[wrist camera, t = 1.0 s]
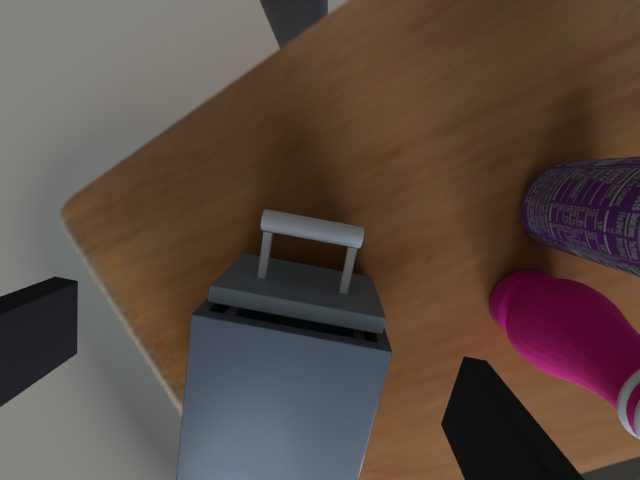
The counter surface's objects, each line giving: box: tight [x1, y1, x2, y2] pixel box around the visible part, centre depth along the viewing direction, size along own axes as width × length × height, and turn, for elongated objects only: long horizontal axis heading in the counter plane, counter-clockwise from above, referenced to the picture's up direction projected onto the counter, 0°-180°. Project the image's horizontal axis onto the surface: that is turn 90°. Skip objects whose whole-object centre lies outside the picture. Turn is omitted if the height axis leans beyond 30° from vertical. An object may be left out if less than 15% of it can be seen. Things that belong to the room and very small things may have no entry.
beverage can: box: [521, 157, 640, 277], centre depth 19 cm, size 7×7×12 cm
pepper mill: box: [490, 270, 640, 439], centre depth 17 cm, size 7×7×20 cm
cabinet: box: [176, 299, 392, 480], centre depth 25 cm, size 15×13×10 cm
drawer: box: [208, 209, 386, 340], centre depth 24 cm, size 18×11×8 cm, turn 170°
